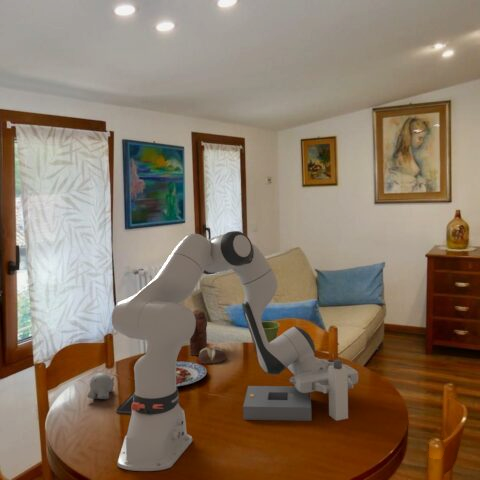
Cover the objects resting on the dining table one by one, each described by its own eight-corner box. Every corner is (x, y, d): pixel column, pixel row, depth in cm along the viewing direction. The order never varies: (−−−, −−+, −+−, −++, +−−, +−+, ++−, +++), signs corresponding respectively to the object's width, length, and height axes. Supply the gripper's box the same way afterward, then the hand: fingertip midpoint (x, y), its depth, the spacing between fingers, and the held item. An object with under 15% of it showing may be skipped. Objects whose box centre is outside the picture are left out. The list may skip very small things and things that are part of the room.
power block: (311, 420, 147) (311, 406, 146) (243, 419, 149) (243, 405, 149) (310, 398, 163) (309, 386, 162) (248, 397, 165) (248, 385, 165)
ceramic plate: (122, 380, 185) (121, 372, 185) (177, 362, 203) (177, 355, 203) (164, 398, 167) (164, 390, 167) (221, 377, 185) (220, 369, 185)
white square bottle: (348, 418, 148) (347, 361, 146) (336, 420, 146) (335, 364, 145) (340, 412, 151) (339, 357, 150) (329, 415, 150) (328, 359, 149)
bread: (197, 365, 199) (196, 352, 199) (200, 355, 211) (200, 344, 210) (225, 364, 199) (224, 352, 198) (227, 355, 210) (226, 343, 210)
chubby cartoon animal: (120, 400, 173) (123, 374, 176) (102, 400, 162) (107, 373, 164) (101, 398, 175) (105, 372, 177) (83, 398, 164) (87, 371, 166)
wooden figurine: (194, 347, 222) (193, 307, 220) (209, 347, 221) (207, 307, 219) (187, 356, 210) (185, 313, 208) (202, 356, 209) (200, 314, 207)
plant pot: (249, 354, 210) (248, 327, 209) (256, 345, 221) (255, 320, 220) (276, 355, 207) (276, 329, 206) (283, 347, 218) (282, 321, 217)
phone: (114, 411, 156) (133, 392, 171) (115, 414, 156) (134, 395, 171) (138, 412, 155) (155, 393, 170) (139, 415, 155) (156, 396, 170)
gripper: (286, 368, 156) (307, 383, 143) (343, 359, 163) (368, 372, 150) (287, 388, 157) (308, 404, 144) (343, 377, 164) (368, 393, 151)
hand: (339, 388), depth 147 cm, fingers open, 7 cm apart
